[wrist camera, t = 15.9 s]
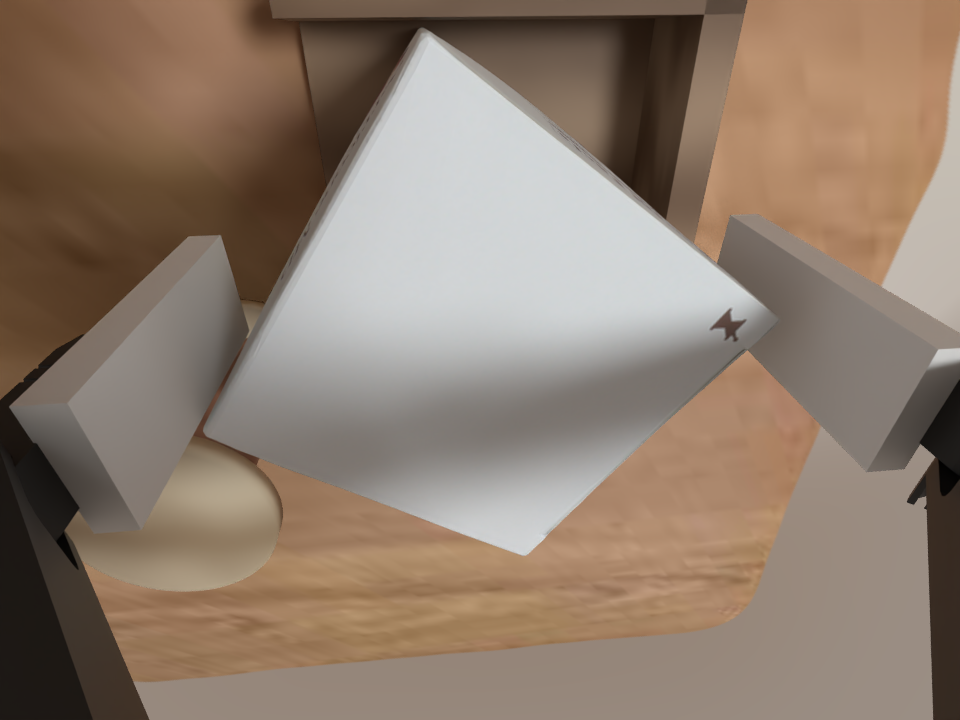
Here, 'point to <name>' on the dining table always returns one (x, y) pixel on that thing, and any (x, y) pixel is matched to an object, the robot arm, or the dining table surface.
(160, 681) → the dining table surface
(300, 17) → the open wooden tray
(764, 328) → the supplement box
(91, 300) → the dining table surface
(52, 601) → the robot arm
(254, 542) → the bobbin post
